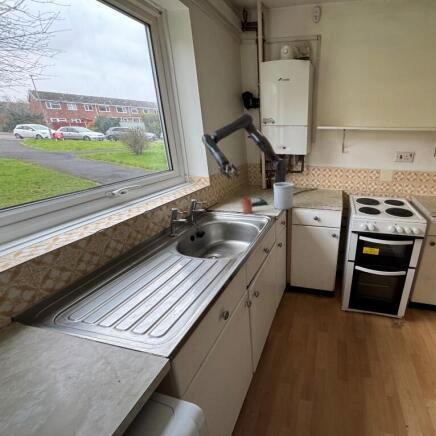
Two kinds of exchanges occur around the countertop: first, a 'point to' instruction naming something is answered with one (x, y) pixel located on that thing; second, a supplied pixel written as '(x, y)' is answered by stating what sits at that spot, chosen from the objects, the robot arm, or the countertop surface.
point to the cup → (247, 205)
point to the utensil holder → (283, 195)
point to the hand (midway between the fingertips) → (234, 177)
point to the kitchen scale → (258, 202)
